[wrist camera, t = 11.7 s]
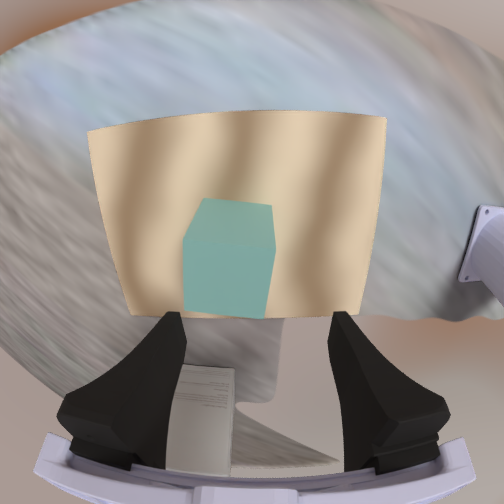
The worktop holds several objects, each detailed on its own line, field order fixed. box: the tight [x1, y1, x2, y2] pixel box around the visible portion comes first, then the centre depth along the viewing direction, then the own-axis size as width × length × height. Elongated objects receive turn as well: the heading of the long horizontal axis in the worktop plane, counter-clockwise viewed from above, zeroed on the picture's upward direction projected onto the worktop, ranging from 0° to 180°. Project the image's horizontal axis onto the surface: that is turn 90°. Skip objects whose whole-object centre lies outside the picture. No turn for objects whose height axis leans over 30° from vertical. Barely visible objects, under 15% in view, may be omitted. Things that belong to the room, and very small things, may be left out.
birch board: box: [87, 110, 387, 318], centre depth 21 cm, size 20×16×2 cm
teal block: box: [183, 198, 276, 319], centre depth 18 cm, size 4×4×6 cm
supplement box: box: [166, 364, 235, 477], centre depth 26 cm, size 7×7×13 cm
